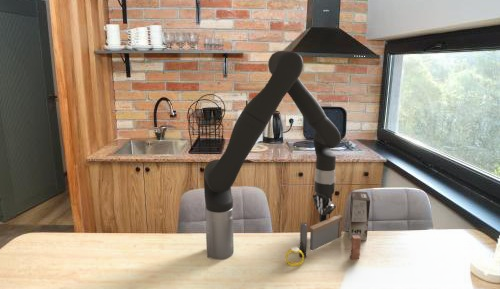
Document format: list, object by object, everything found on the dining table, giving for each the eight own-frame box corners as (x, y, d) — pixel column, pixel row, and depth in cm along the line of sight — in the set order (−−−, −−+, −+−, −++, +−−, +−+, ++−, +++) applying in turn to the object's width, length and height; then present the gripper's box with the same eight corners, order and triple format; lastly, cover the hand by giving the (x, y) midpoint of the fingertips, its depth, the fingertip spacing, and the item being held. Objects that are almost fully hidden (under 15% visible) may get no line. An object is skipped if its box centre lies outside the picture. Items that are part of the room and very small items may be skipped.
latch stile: (352, 259, 117) (353, 238, 115) (350, 256, 119) (351, 235, 117) (359, 259, 117) (361, 238, 115) (357, 256, 119) (358, 235, 117)
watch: (302, 263, 115) (304, 247, 114) (303, 267, 113) (305, 251, 111) (284, 262, 115) (286, 246, 114) (285, 266, 113) (287, 250, 111)
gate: (312, 251, 119) (313, 229, 117) (307, 249, 120) (308, 227, 118) (341, 237, 129) (342, 216, 127) (337, 235, 130) (338, 214, 128)
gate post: (300, 258, 118) (301, 225, 115) (298, 254, 120) (299, 222, 117) (306, 257, 118) (308, 225, 115) (305, 254, 120) (306, 222, 117)
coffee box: (367, 240, 129) (370, 200, 125) (349, 239, 130) (352, 199, 127) (364, 229, 138) (367, 191, 134) (347, 228, 139) (350, 190, 135)
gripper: (307, 175, 134) (305, 216, 138) (326, 186, 122) (323, 231, 126) (323, 173, 136) (321, 213, 140) (343, 184, 124) (340, 228, 128)
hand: (322, 222), depth 133 cm, fingers closed
